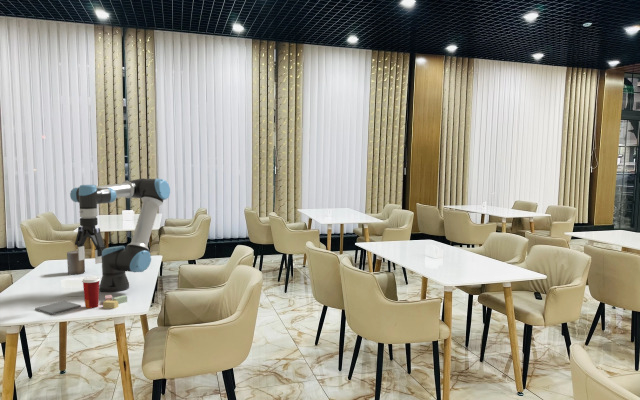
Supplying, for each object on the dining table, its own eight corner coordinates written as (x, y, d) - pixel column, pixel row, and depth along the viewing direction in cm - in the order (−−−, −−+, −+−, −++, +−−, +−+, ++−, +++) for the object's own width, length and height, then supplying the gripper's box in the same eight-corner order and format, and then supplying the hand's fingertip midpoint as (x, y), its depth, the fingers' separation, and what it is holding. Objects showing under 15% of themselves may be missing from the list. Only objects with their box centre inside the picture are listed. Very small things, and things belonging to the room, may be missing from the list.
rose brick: (105, 301, 236) (105, 295, 236) (111, 300, 238) (111, 294, 237) (105, 304, 231) (105, 298, 231) (112, 303, 232) (112, 297, 232)
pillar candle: (88, 271, 300) (87, 248, 299) (79, 275, 290) (77, 251, 289) (74, 271, 301) (72, 248, 300) (64, 274, 291) (63, 250, 290)
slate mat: (64, 302, 234) (64, 300, 233) (81, 306, 226) (81, 305, 226) (35, 309, 222) (35, 308, 222) (51, 314, 214) (51, 313, 214)
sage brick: (123, 301, 237) (123, 295, 236) (127, 302, 235) (127, 296, 235) (112, 304, 232) (112, 298, 231) (116, 305, 230) (116, 299, 230)
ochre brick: (103, 308, 225) (103, 302, 225) (107, 306, 228) (107, 300, 228) (114, 308, 224) (114, 302, 224) (118, 307, 227) (118, 301, 227)
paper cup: (103, 304, 231) (102, 276, 230) (96, 309, 223) (95, 280, 222) (87, 304, 230) (86, 276, 229) (79, 309, 223) (78, 280, 222)
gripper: (65, 216, 227) (67, 259, 228) (97, 219, 213) (98, 265, 215) (80, 215, 233) (82, 257, 235) (111, 218, 220) (113, 263, 221)
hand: (90, 261), depth 225 cm, fingers open, 13 cm apart
